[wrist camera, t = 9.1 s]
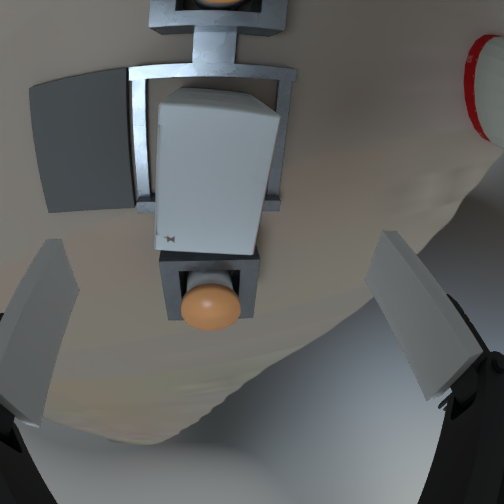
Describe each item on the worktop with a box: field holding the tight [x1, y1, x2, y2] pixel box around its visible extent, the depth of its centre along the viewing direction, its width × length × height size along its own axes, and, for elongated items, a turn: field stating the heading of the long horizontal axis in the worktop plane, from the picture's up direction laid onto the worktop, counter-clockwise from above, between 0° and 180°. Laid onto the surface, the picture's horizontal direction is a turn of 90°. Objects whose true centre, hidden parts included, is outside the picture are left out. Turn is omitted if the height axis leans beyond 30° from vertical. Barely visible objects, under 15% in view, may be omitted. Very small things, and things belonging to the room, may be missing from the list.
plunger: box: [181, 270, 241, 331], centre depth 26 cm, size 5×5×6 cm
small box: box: [154, 87, 281, 255], centre depth 18 cm, size 8×6×10 cm
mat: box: [29, 68, 136, 213], centre depth 20 cm, size 9×12×1 cm
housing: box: [129, 0, 297, 320], centre depth 20 cm, size 12×31×5 cm, turn 176°
